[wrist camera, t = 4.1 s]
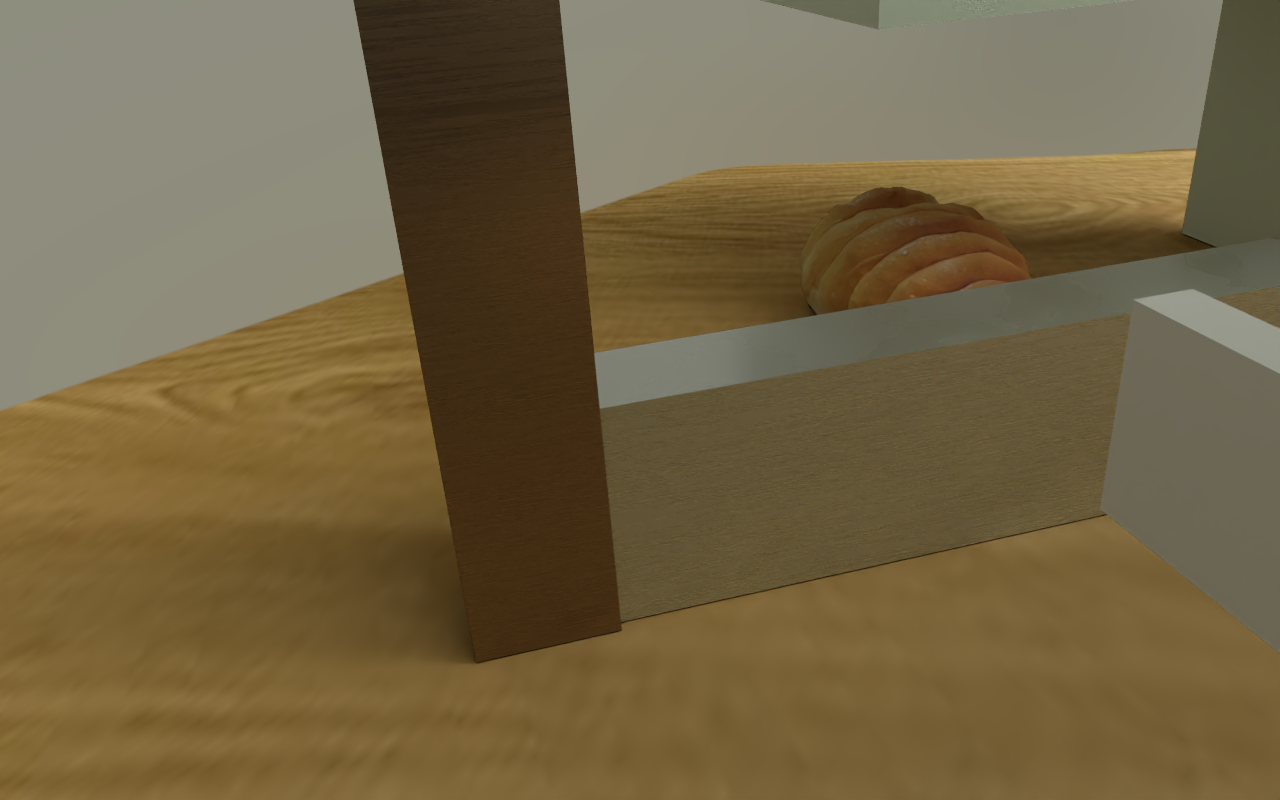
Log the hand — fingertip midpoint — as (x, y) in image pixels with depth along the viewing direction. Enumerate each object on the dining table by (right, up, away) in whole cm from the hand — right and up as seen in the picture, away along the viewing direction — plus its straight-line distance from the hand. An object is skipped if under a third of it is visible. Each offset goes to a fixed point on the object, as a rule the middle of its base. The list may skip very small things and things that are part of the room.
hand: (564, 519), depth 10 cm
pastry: (+10, +4, +24) cm, 26 cm away
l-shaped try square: (+9, -1, +14) cm, 16 cm away
